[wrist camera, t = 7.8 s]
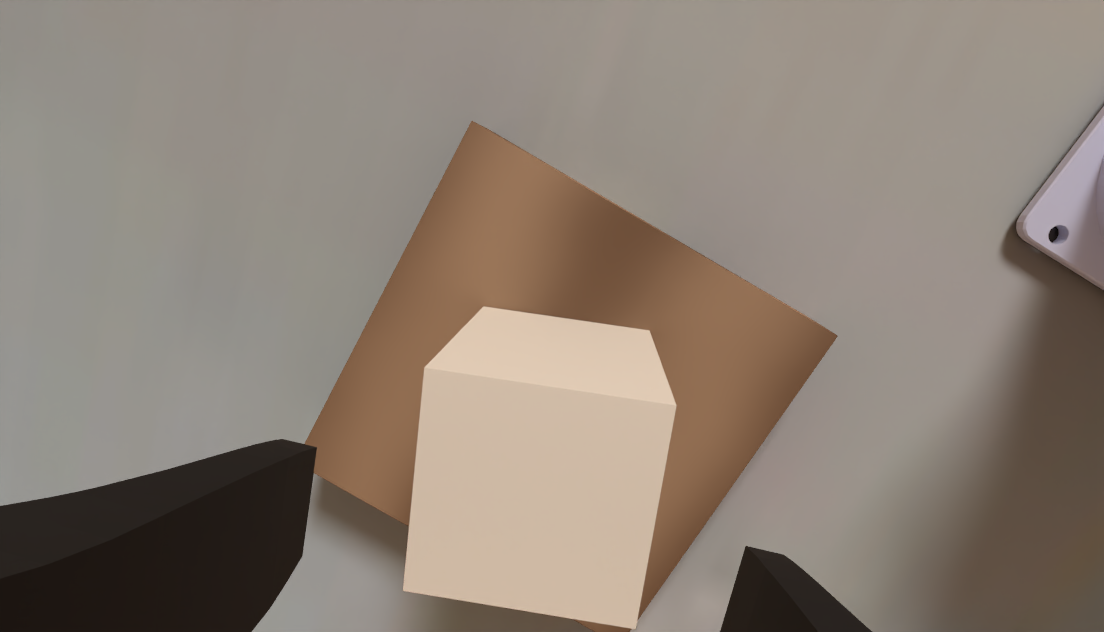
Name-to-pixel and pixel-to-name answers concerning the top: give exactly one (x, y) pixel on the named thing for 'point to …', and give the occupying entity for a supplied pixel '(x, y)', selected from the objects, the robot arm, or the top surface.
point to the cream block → (540, 467)
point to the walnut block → (574, 293)
